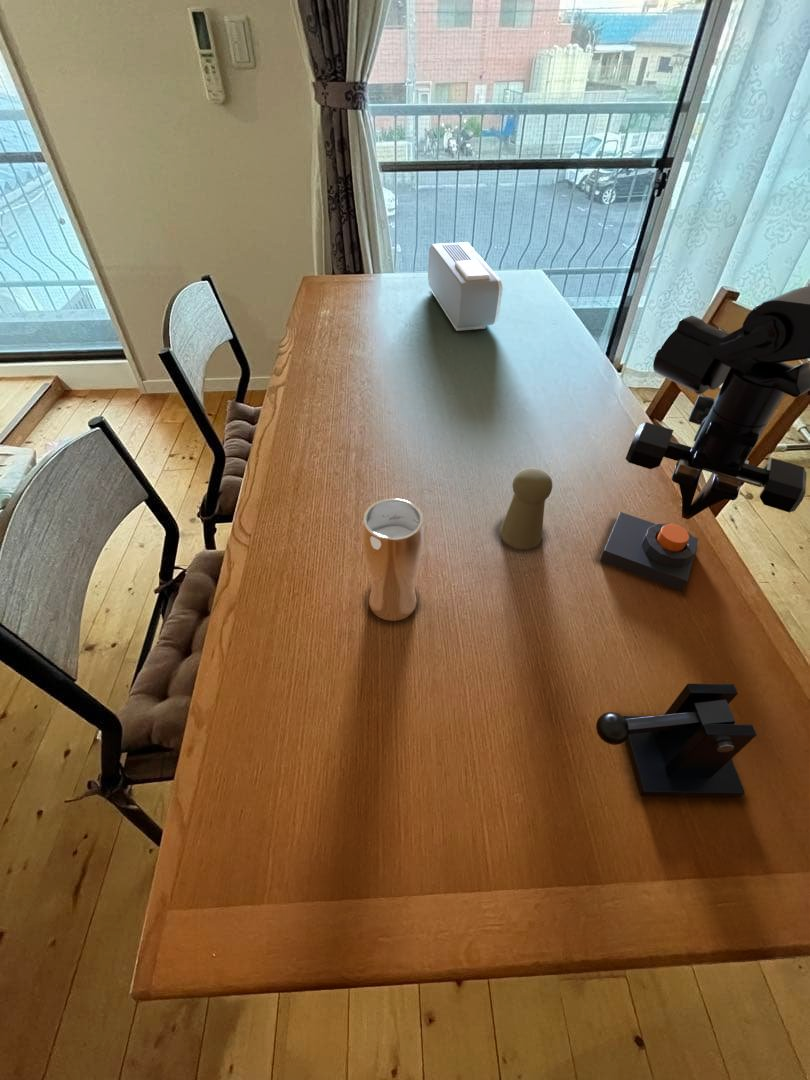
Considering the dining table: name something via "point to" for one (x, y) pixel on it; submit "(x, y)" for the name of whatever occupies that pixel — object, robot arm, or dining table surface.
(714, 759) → the switch bracket
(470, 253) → the alarm clock
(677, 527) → the button
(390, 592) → the beer glass
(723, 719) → the switch
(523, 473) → the olive game pawn
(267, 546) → the dining table surface
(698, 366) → the robot arm
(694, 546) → the button box
